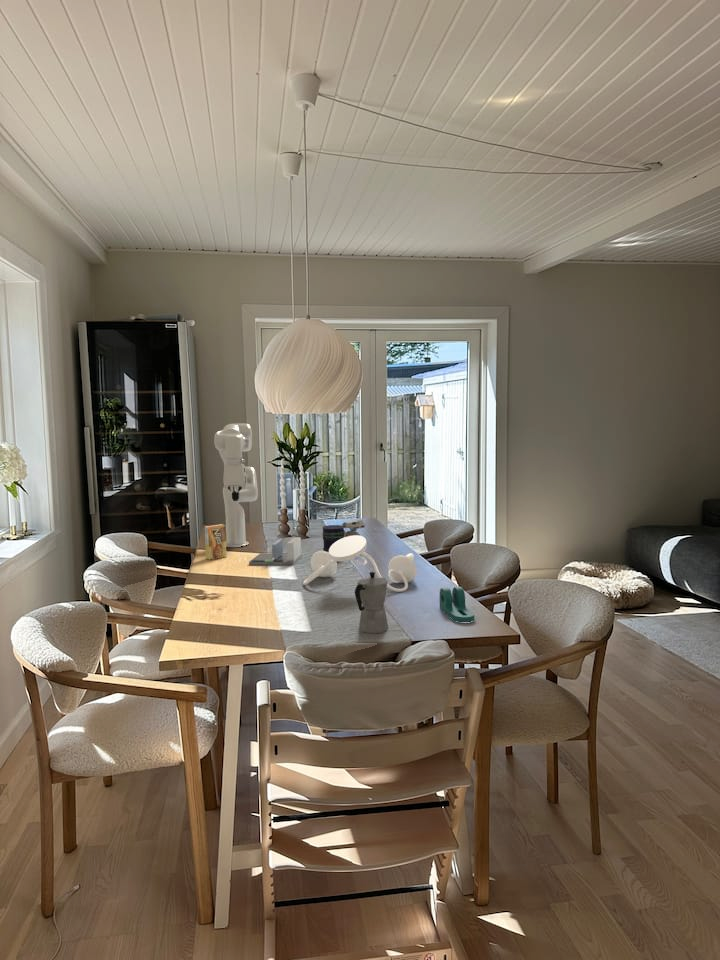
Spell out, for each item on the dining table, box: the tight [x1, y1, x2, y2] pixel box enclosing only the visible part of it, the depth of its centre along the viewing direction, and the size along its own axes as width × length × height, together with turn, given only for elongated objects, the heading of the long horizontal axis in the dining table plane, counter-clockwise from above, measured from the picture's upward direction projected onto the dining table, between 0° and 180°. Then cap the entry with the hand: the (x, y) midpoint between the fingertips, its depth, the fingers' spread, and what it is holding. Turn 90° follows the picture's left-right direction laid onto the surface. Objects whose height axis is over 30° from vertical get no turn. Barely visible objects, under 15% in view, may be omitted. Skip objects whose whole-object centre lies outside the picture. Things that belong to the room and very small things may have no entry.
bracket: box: [439, 586, 475, 622], centre depth 224 cm, size 18×7×8 cm, turn 11°
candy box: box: [204, 523, 227, 561], centre depth 318 cm, size 9×4×15 cm, turn 129°
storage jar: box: [322, 524, 345, 552], centre depth 310 cm, size 10×10×15 cm
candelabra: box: [302, 535, 418, 593], centre depth 267 cm, size 20×45×37 cm
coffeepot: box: [354, 571, 389, 634], centre depth 210 cm, size 15×9×18 cm, turn 144°
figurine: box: [341, 519, 367, 542], centre depth 326 cm, size 9×12×15 cm
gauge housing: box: [248, 536, 303, 566], centre depth 310 cm, size 18×20×10 cm
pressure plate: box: [271, 538, 284, 560], centre depth 308 cm, size 14×2×7 cm, turn 172°
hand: (235, 500), depth 320 cm, fingers closed
